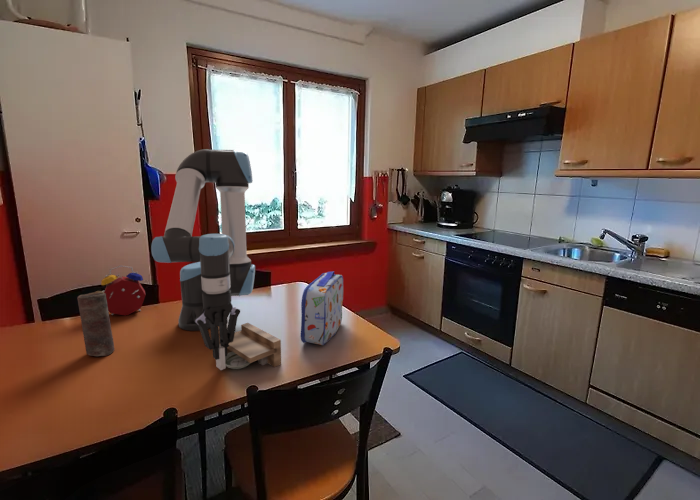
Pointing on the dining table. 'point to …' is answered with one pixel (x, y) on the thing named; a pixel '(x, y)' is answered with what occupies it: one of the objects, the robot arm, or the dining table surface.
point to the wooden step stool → (256, 345)
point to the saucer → (235, 361)
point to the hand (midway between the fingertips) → (221, 367)
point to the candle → (96, 324)
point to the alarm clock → (123, 292)
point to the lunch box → (321, 308)
